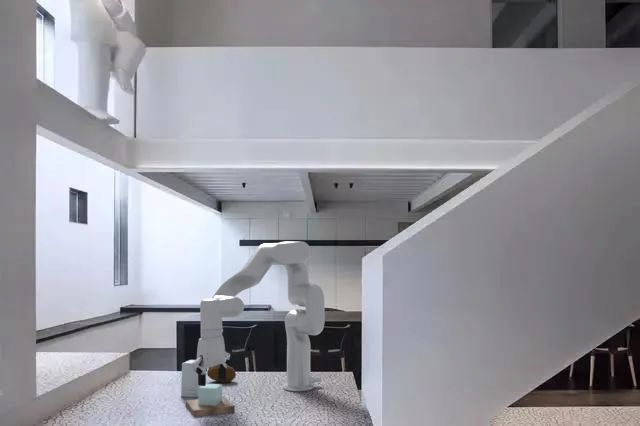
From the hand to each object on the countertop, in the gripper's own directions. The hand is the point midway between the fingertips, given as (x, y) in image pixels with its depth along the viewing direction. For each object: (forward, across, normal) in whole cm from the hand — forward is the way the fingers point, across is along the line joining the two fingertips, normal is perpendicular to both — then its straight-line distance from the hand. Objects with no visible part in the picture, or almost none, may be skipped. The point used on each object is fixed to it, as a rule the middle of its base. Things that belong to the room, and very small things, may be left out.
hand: (212, 382), depth 195 cm
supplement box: (+10, -9, -20) cm, 24 cm away
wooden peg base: (+9, +1, 0) cm, 9 cm away
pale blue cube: (+7, +1, 0) cm, 7 cm away
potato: (+10, -30, -26) cm, 41 cm away
